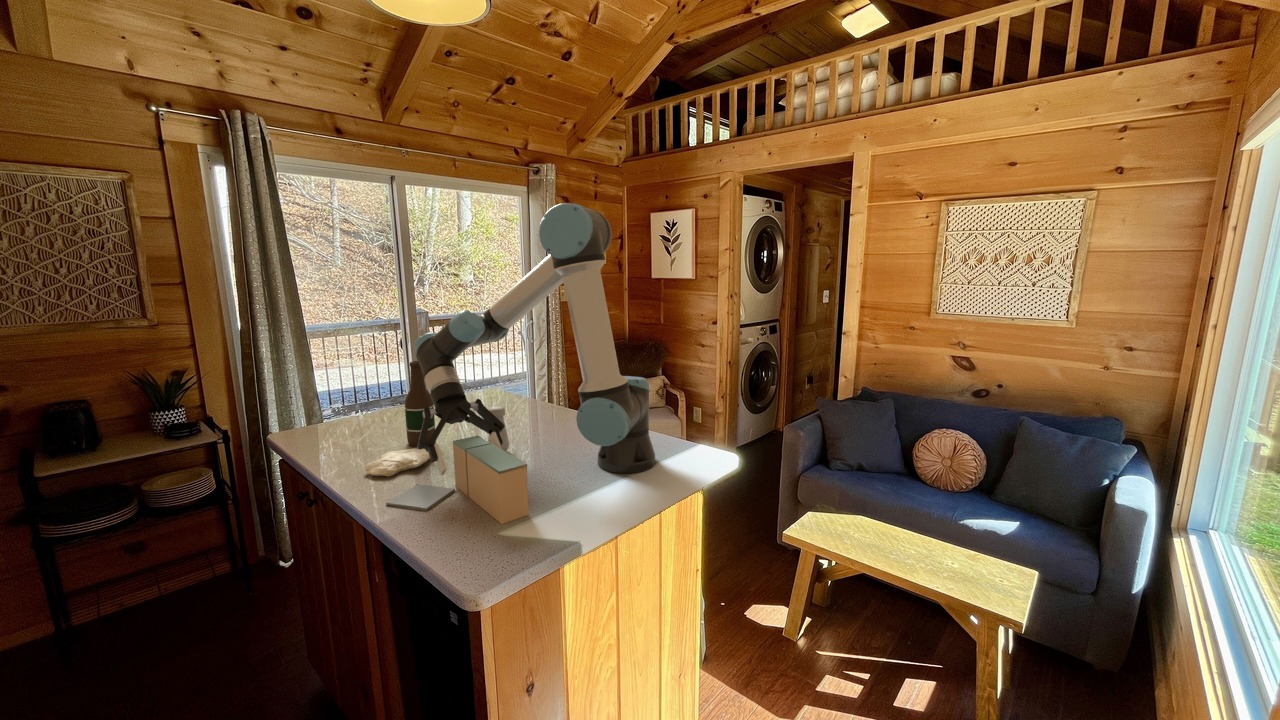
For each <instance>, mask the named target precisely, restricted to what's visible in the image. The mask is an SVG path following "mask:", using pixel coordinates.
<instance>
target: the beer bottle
mask: <svg viewBox="0 0 1280 720" xmlns="http://www.w3.org/2000/svg"><path fill="white" fill-rule="evenodd" d="M408 366H409V367H410V387H409V391H408V392H407V394H406V395H405V399H404V413H405V414H404V417H405V427H406V439H407V444H408V445H409V444H410V445H409V447H417V445H418V441H419V437H420V433H421V429H422V425H423V416H422V414H423V411H424V408H425V407H429V409H435V407H434V404H433V401H432V399H431V394H430V393H429V390H428V388H426V386H427V385H426V381H425V378H424V375H423V372H422V370H421V367H420V365H419V362H418V360H414V361H409V365H408ZM435 429H436V423H435V414H434V415H433V417H432V418H431V419H430V423H429V427H428V431H427V435H426V439H425V441H429V440H430V438H431V436H432V434H433V433H434V431H435Z"/></svg>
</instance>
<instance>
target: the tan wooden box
mask: <svg viewBox="0 0 1280 720" xmlns="http://www.w3.org/2000/svg"><path fill="white" fill-rule="evenodd" d="M466 466H467V484H468V496H467V497H468V498H469V499H471V500H472V502H474V503H475V504H477V505H478V506H479V507H480V508H481V509H483V510H484V511H485V512H486V513H487V514H489V515H490V516H491V517H492V518H494V519H495V520H496V521H497V522H498V523H500V524H501V525H504V524H506V523H509V522H512V521H516V520H518V519H520V518H524V517H526V516H529V512H530V511H529V487H528V486H529V483H528V482H529V481H528V463H526V462H524V461H522V460H521V459H520V458H517V457H516V456H514V455H512V454H510V453H509V452H508V451H507V452H505V451H504V450H502V449H500V448H499V447H497V446H495V445H493V444H488V445H484V446H479V447H475V448H471V449H466Z"/></svg>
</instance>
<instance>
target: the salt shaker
mask: <svg viewBox="0 0 1280 720" xmlns="http://www.w3.org/2000/svg"><path fill="white" fill-rule="evenodd" d="M488 410H489V411H490V412H491V413H492V414H493V415H494V416H496V417H497V418H498V419H499V420H500V421H501V422H502V423H503V424H504V425H505V427H504V428H503V430H502V432H500V436H501V438H502V441H503V444H502V445H501V447H502V450H504V451H505V452H507V453H508V449H509V448H510V441H509V437H508V436H509V435H508V431H507V428H506V423H505V419H504V416H505V415H506V409H505V407H504V406H500V405H497V406H496V405H495V406H491V407H490V408H489V409H488ZM490 436H491V435H490V434H488V439H487V441H488V442H490V443H491V441H490V439H489V437H490Z"/></svg>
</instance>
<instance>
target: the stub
mask: <svg viewBox="0 0 1280 720" xmlns="http://www.w3.org/2000/svg"><path fill="white" fill-rule="evenodd" d="M488 444H491V443H490V442H488V440H486V439H484V438H483V437H481V436H479V435H475V436H470V437H466V438H460V439H455V440H452V451H453V452H452V453H453V468H454V485H455V487H456V488H457V489H458V490H460V492H462V493H463V494H464V495H465V496H466V497H468V484H467V466H466V449H471V448H475V447H479V446H484V445H488Z"/></svg>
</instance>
